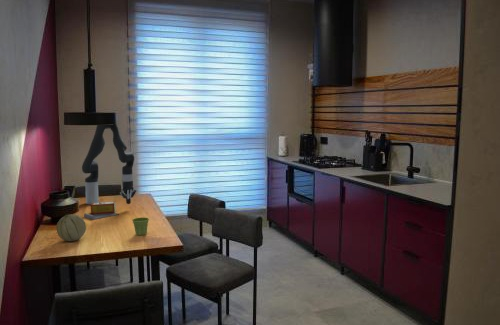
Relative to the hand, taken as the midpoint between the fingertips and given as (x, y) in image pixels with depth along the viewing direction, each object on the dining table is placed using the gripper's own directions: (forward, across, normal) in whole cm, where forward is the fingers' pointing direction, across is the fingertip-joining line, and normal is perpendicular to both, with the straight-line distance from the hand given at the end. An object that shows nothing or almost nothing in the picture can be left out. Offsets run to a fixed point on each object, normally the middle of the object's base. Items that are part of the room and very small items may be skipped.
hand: (128, 203), depth 300 cm
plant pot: (+5, +31, +61) cm, 68 cm away
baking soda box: (+1, +10, -1) cm, 10 cm away
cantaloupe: (+5, +63, +42) cm, 76 cm away
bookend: (+4, +22, +2) cm, 22 cm away
